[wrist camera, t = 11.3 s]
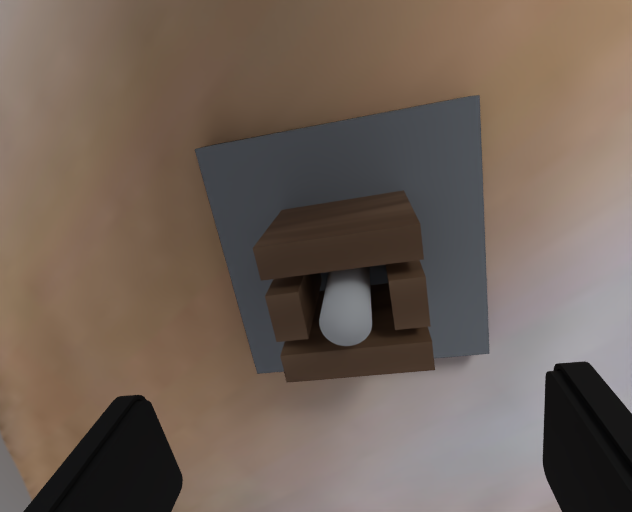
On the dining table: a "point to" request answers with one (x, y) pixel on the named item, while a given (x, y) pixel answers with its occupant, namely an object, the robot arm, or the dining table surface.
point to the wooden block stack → (341, 254)
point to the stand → (353, 182)
